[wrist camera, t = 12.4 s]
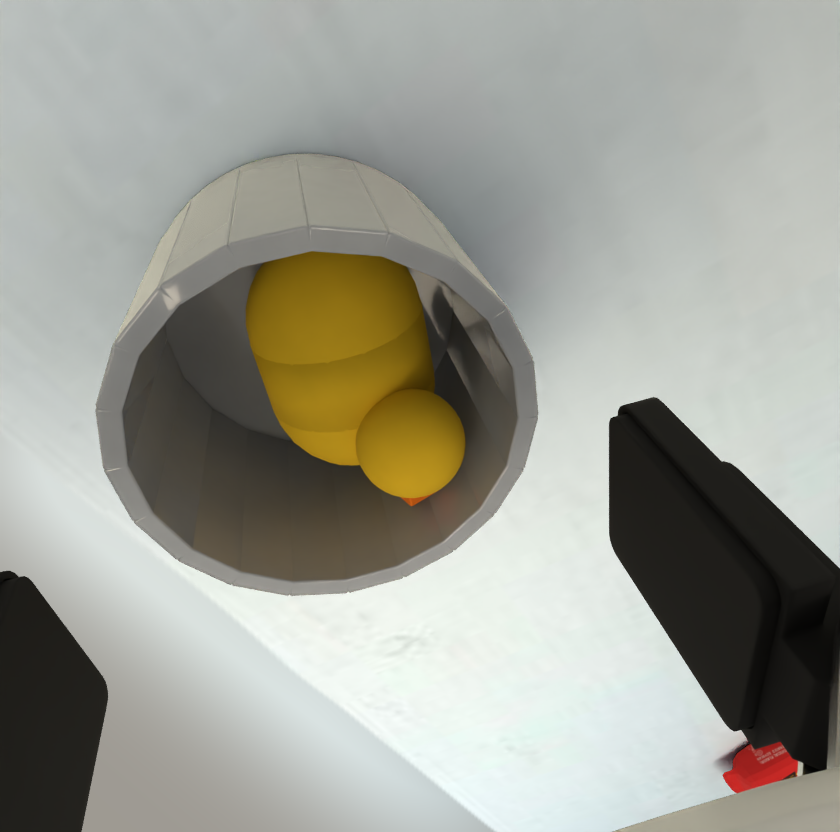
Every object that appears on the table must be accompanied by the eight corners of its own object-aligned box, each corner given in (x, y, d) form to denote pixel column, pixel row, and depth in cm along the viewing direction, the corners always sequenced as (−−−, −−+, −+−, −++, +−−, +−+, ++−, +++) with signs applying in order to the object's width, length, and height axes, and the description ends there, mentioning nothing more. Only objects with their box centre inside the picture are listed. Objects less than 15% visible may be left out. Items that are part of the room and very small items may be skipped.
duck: (194, 247, 17) (303, 314, 12) (347, 193, 19) (494, 233, 14) (272, 456, 21) (378, 568, 16) (393, 393, 22) (520, 478, 18)
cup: (92, 196, 17) (3, 296, 11) (437, 119, 18) (518, 175, 12) (214, 471, 22) (196, 635, 17) (479, 403, 23) (550, 539, 17)
